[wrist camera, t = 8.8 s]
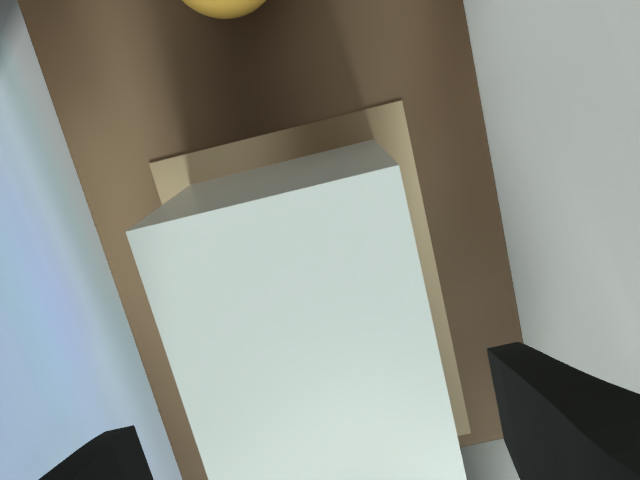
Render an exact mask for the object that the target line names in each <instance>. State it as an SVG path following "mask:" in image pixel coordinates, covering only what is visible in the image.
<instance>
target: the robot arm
mask: <svg viewBox="0 0 640 480" xmlns="http://www.w3.org/2000/svg"><path fill="white" fill-rule="evenodd" d="M486 349H487V354H488V359H489V364H490V370H491V375H492V380H493V385H494V390H495V395H496V401H497V406H498V411H499V416H500V421H501V427H502V432H503V437H504V441H505V444H506V446H507V448H508V451H509V453H510V456H511V458H512V461H513V463H514V466H515V468H516V471H517V473H518V475H519V478H520V480H640V394H638V393H635V392H632V391H629V390H627V389H624V388H621V387H619V386H616V385H614V384H611V383H608V382H606V381H603V380H601V379H598V378H596V377H594V376H591V375H589V374H587V373H584V372H582V371H580V370H578V369H575V368H573V367H571V366H569V365H567V364H565V363H563V362H560V361H558V360H556V359H554V358H552V357H550V356H548V355H546V354H544V353H542V352H540V351H538V350H536V349H534V348H532V347H529V346H527V345H525V344H523V343H520V342H514V343H509V344H504V345H500V346H495V347H491V348H486ZM39 480H153V477H152V474H151V472H150V469H149V466H148V463H147V460H146V458H145V455H144V452H143V449H142V446H141V444H140V441H139V438H138V435H137V433H136V430H135V427H134V425H133V426H129V427H124V428H120V429H115V430H110V431H106V432H104V433H102V434H100V435H99V436H97V437H95V438H94V439H92V440H91V441H89V442H88V443H86V444H85V445H84V446H82V447H81V448H79V449H78V450H77V451H75V452H74V453H73V454H71V455H70V456H69V457H67V458H66V459H65V460H63V461H62V462H61V463H60V464H58V465H57V466H56V467H54V468H53V469H52V470H50V471H49V472H48V473H47V474H45V475H44V476H43V477H41V478H40V479H39Z"/></svg>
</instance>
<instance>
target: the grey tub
mask: <svg viewBox="0 0 640 480" xmlns="http://www.w3.org/2000/svg"><path fill="white" fill-rule="evenodd" d="M126 235H127V238H128V241H129V244H130V247H131V250H132V253H133V256H134V259H135V262H136V265H137V268H138V271H139V274H140V277H141V280H142V283H143V286H144V289H145V292H146V295H147V298H148V301H149V304H150V307H151V310H152V313H153V315H154V318H155V321H156V324H157V327H158V330H159V333H160V336H161V339H162V342H163V345H164V348H165V351H166V354H167V357H168V360H169V363H170V366H171V369H172V372H173V375H174V378H175V381H176V384H177V387H178V390H179V393H180V396H181V399H182V402H183V405H184V408H185V411H186V414H187V417H188V420H189V423H190V426H191V429H192V432H193V435H194V438H195V441H196V444H197V447H198V450H199V453H200V456H201V459H202V462H203V465H204V468H205V471H206V474H207V477H208V480H467V479H466V474H465V469H464V465H463V460H462V455H461V451H460V446H459V441H458V437H457V432H456V427H455V423H454V418H453V414H452V409H451V404H450V400H449V395H448V390H447V386H446V381H445V376H444V372H443V367H442V362H441V358H440V353H439V349H438V344H437V339H436V335H435V330H434V325H433V321H432V316H431V311H430V307H429V302H428V297H427V293H426V288H425V284H424V279H423V274H422V270H421V265H420V260H419V256H418V251H417V246H416V242H415V237H414V232H413V228H412V223H411V219H410V214H409V209H408V205H407V200H406V195H405V191H404V186H403V181H402V177H401V172H400V167H399V164H398V163H397V162H396V161H395V160H394V159H393V158H392V157H391V156H390V155H389V154H388V153H387V152H386V151H385V150H384V149H383V148H382V147H381V146H380V145H379V144H378V143H377V142H376V140H375V139H373V140H369V141H365V142H361V143H357V144H352V145H348V146H344V147H340V148H336V149H332V150H328V151H324V152H320V153H316V154H312V155H308V156H304V157H300V158H296V159H292V160H288V161H284V162H280V163H276V164H272V165H268V166H264V167H260V168H256V169H252V170H248V171H243V172H239V173H235V174H231V175H227V176H223V177H219V178H215V179H211V180H207V181H203V182H199V183H195V184H191V185H189V186H188V187H186V188H185V189H183V190H182V191H181V192H179V193H178V194H177V195H175V196H174V197H172V198H171V199H170V200H168V201H167V202H166V203H164V204H163V205H161V206H160V207H159V208H157V209H156V210H155V211H153V212H152V213H150V214H149V215H148V216H146V217H145V218H144V219H142V220H141V221H140V222H138V223H137V224H135V225H134V226H133V227H131V228H130V229H129V230H127V231H126Z"/></svg>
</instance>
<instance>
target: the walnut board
mask: <svg viewBox="0 0 640 480" xmlns="http://www.w3.org/2000/svg"><path fill="white" fill-rule="evenodd" d="M18 3H19V6H20V9H21V12H22V15H23V18H24V21H25V24H26V27H27V29H28V32H29V35H30V38H31V41H32V44H33V47H34V50H35V53H36V56H37V58H38V61H39V64H40V67H41V70H42V73H43V76H44V79H45V82H46V85H47V87H48V90H49V93H50V96H51V99H52V102H53V105H54V108H55V111H56V114H57V116H58V119H59V122H60V125H61V128H62V131H63V134H64V137H65V140H66V143H67V145H68V148H69V151H70V154H71V157H72V160H73V163H74V166H75V169H76V172H77V174H78V177H79V180H80V183H81V186H82V189H83V192H84V195H85V198H86V201H87V203H88V206H89V209H90V212H91V215H92V218H93V221H94V224H95V227H96V230H97V232H98V235H99V238H100V241H101V244H102V247H103V250H104V253H105V256H106V259H107V261H108V264H109V267H110V270H111V273H112V276H113V279H114V282H115V285H116V288H117V290H118V293H119V296H120V299H121V302H122V305H123V308H124V311H125V314H126V317H127V319H128V322H129V325H130V328H131V331H132V334H133V337H134V340H135V343H136V346H137V348H138V351H139V354H140V357H141V360H142V363H143V366H144V369H145V372H146V375H147V377H148V380H149V383H150V386H151V389H152V392H153V395H154V398H155V401H156V404H157V406H158V409H159V412H160V415H161V418H162V421H163V424H164V427H165V430H166V433H167V435H168V438H169V441H170V444H171V447H172V450H173V453H174V456H175V459H176V462H177V464H178V467H179V470H180V473H181V476H182V479H183V480H208V477H207V474H206V471H205V468H204V465H203V462H202V459H201V456H200V453H199V450H198V447H197V444H196V441H195V438H194V435H193V432H192V429H191V426H190V423H189V420H188V417H187V414H186V411H185V408H184V405H183V402H182V399H181V396H180V393H179V390H178V387H177V384H176V381H175V378H174V375H173V372H172V369H171V366H170V363H169V360H168V357H167V354H166V351H165V348H164V345H163V342H162V339H161V336H160V333H159V330H158V327H157V324H156V321H155V318H154V315H153V313H152V310H151V307H150V304H149V301H148V298H147V295H146V292H145V289H144V286H143V283H142V280H141V277H140V274H139V271H138V268H137V265H136V262H135V259H134V256H133V253H132V250H131V247H130V244H129V241H128V238H127V235H126V231H127V230H129V229H130V228H131V227H133V226H134V225H135V224H137V223H138V222H140V221H141V220H142V219H144V218H145V217H146V216H148V215H149V214H150V213H152V212H153V211H155V210H156V209H157V208H159V207H160V206H161V205H163V204H164V203H166V202H167V201H168V200H170V199H171V198H172V197H174V196H175V195H177V194H178V193H179V192H181V191H182V190H183V189H185V188H186V187H188V186H189V185H191V184H195V183H199V182H203V181H207V180H211V179H215V178H219V177H223V176H227V175H231V174H235V173H239V172H243V171H248V170H252V169H256V168H260V167H264V166H268V165H272V164H276V163H280V162H284V161H288V160H292V159H296V158H300V157H304V156H308V155H312V154H316V153H320V152H324V151H328V150H332V149H336V148H340V147H344V146H348V145H352V144H357V143H361V142H365V141H369V140H373V139H375V140H376V142H377V143H378V144H379V145H380V146H381V147H382V148H383V149H384V150H385V151H386V152H387V153H388V154H389V155H390V156H391V157H392V158H393V159H394V160H395V161H396V162H397V163H398V164H399V167H400V172H401V177H402V181H403V186H404V191H405V195H406V200H407V205H408V209H409V214H410V219H411V223H412V228H413V232H414V237H415V242H416V246H417V251H418V256H419V260H420V265H421V270H422V274H423V279H424V284H425V288H426V293H427V297H428V302H429V307H430V311H431V316H432V321H433V325H434V330H435V335H436V339H437V344H438V349H439V353H440V358H441V362H442V367H443V372H444V376H445V381H446V386H447V390H448V395H449V400H450V404H451V409H452V414H453V418H454V423H455V427H456V432H457V437H458V441H459V446H460V447H464V446H469V445H473V444H478V443H483V442H488V441H492V440H497V439H502V438H504V437H503V432H502V427H501V421H500V416H499V411H498V406H497V401H496V395H495V390H494V385H493V380H492V375H491V370H490V364H489V359H488V354H487V349H486V348H491V347H495V346H500V345H504V344H509V343H514V342H520V343H523V339H522V333H521V327H520V322H519V316H518V310H517V305H516V299H515V293H514V288H513V282H512V276H511V271H510V265H509V259H508V254H507V248H506V242H505V237H504V231H503V225H502V220H501V214H500V208H499V203H498V197H497V191H496V186H495V180H494V174H493V169H492V163H491V157H490V152H489V146H488V140H487V135H486V129H485V123H484V118H483V112H482V106H481V101H480V95H479V89H478V83H477V78H476V72H475V66H474V61H473V55H472V49H471V44H470V38H469V32H468V27H467V21H466V15H465V10H464V4H463V0H266V1H265V2H264V3H263V4H262V5H261V6H260V7H259V8H257V9H256V10H254V11H253V12H251V13H249V14H247V15H245V16H242V17H238V18H233V19H217V18H213V17H208V16H205V15H203V14H200V13H198V12H197V11H195V10H193V9H192V8H190V7H189V6H187V5H186V4H185V3H184V2H183V1H182V0H18Z"/></svg>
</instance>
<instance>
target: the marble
mask: <svg viewBox="0 0 640 480" xmlns="http://www.w3.org/2000/svg"><path fill="white" fill-rule="evenodd" d="M182 1H183V2H184V3H185V4H186V5H187V6H189V7H190V8H192V9H193V10H195V11H197V12H198V13H200V14H203V15H205V16H208V17H213V18H217V19H233V18H238V17H242V16H245V15H247V14H249V13H251V12H253V11H254V10H256V9H257V8H259V7H260V6H261V5H262V4H263V3H264V2H265V1H266V0H182Z"/></svg>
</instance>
